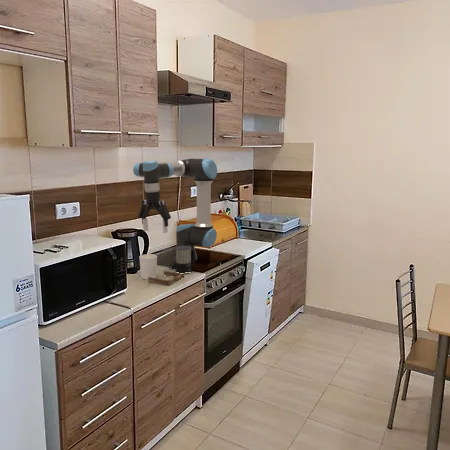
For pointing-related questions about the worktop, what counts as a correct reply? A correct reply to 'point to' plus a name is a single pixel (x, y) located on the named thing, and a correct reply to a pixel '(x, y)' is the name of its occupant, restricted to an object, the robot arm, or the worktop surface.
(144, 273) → the candle holder
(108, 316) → the worktop surface
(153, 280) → the walnut bay
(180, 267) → the milk frother
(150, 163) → the robot arm
